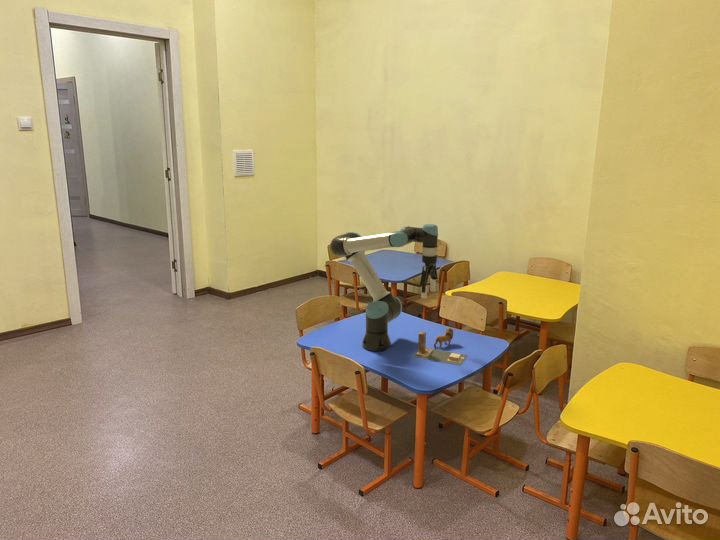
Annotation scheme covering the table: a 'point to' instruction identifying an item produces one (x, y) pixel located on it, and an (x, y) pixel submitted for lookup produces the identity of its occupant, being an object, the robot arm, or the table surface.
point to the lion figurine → (444, 337)
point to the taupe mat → (442, 357)
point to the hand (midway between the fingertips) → (428, 294)
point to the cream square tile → (455, 357)
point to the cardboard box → (423, 346)
